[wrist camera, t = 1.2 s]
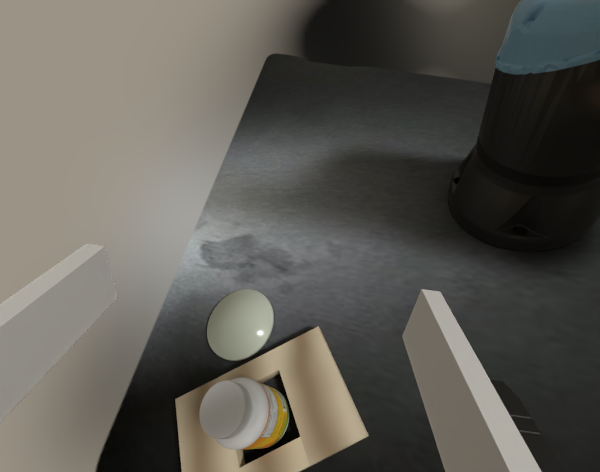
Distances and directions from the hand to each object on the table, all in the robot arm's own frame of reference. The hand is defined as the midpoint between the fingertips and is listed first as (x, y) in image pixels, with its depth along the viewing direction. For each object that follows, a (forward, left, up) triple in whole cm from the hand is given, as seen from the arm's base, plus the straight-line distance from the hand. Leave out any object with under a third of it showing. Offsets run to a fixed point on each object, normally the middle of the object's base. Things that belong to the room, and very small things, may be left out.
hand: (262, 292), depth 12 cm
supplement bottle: (+9, 0, -23) cm, 25 cm away
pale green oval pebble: (+9, -11, -23) cm, 27 cm away
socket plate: (+9, 0, -23) cm, 24 cm away
